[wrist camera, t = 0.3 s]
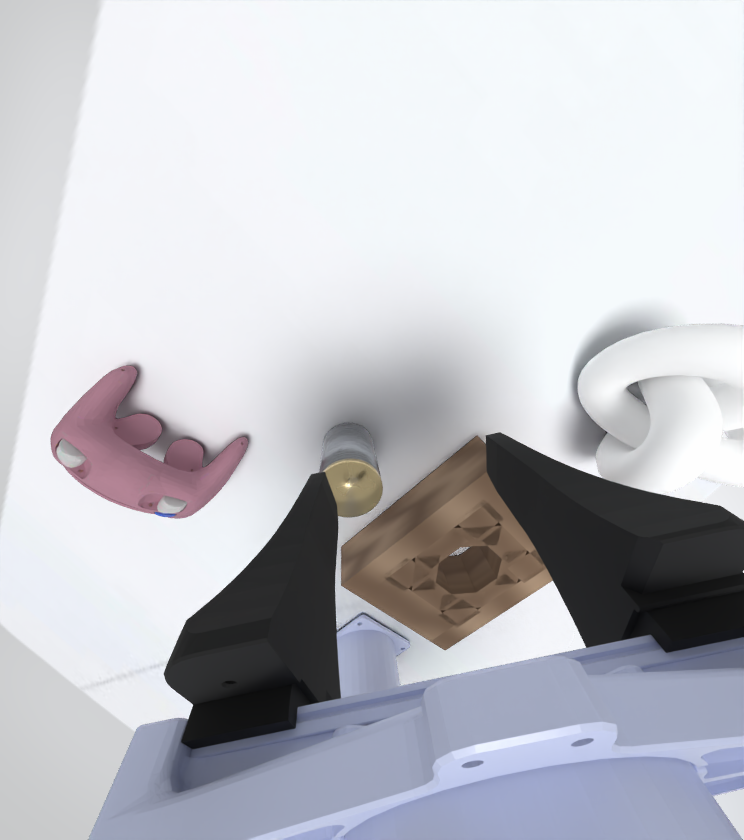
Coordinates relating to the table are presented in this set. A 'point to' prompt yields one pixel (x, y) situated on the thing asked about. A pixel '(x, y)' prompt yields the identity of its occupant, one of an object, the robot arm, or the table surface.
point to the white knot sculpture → (669, 407)
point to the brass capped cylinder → (351, 469)
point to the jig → (445, 554)
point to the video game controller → (136, 455)
